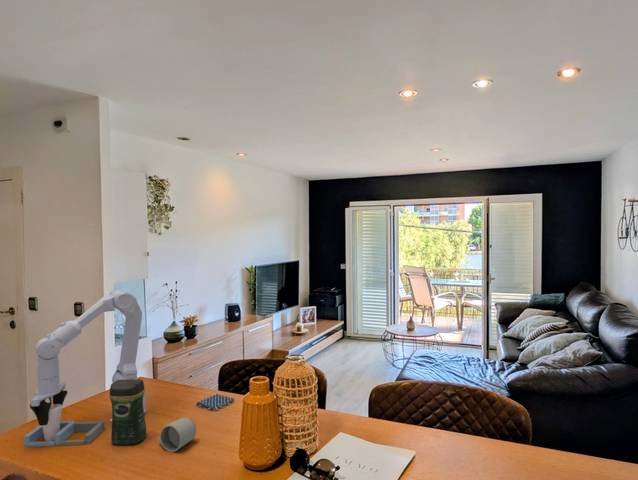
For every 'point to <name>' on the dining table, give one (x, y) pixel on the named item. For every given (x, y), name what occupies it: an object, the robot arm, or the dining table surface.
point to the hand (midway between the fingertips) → (50, 419)
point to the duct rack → (66, 434)
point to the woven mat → (215, 402)
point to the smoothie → (52, 421)
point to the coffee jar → (127, 412)
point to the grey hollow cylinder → (177, 434)
